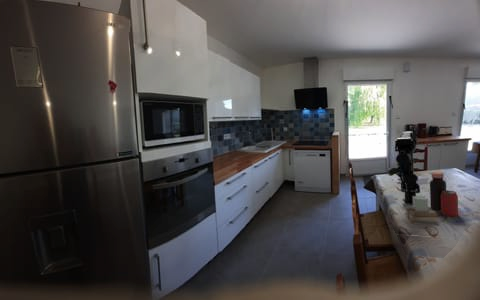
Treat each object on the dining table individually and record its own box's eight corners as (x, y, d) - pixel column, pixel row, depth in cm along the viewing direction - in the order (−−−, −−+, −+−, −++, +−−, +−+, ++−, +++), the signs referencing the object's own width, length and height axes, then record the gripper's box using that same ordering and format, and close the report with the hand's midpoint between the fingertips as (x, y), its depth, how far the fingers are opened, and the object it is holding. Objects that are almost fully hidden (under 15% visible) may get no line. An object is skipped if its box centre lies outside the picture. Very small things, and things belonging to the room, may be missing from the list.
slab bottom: (406, 214, 127) (406, 210, 127) (428, 214, 123) (428, 210, 123) (412, 221, 118) (411, 216, 118) (435, 222, 114) (435, 217, 114)
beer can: (450, 211, 125) (449, 189, 124) (462, 216, 118) (461, 192, 117) (437, 213, 125) (437, 191, 124) (449, 218, 118) (448, 194, 117)
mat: (404, 213, 129) (404, 212, 129) (429, 214, 125) (429, 213, 125) (411, 223, 116) (411, 223, 116) (439, 225, 112) (439, 224, 112)
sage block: (412, 207, 123) (412, 196, 123) (424, 207, 122) (424, 196, 121) (415, 210, 119) (415, 199, 118) (428, 211, 117) (427, 199, 116)
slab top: (405, 210, 126) (405, 206, 126) (426, 210, 124) (426, 205, 124) (413, 217, 117) (413, 212, 117) (436, 217, 115) (436, 212, 114)
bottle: (440, 212, 126) (439, 175, 124) (427, 208, 132) (426, 173, 130) (450, 209, 127) (449, 173, 126) (436, 206, 134) (435, 171, 132)
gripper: (384, 158, 139) (385, 185, 140) (391, 165, 122) (393, 194, 123) (406, 157, 135) (408, 184, 136) (417, 164, 118) (418, 194, 119)
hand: (406, 189), depth 129 cm, fingers open, 9 cm apart
